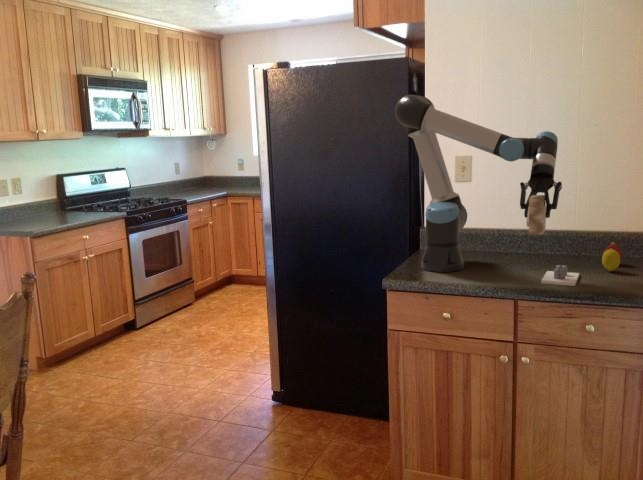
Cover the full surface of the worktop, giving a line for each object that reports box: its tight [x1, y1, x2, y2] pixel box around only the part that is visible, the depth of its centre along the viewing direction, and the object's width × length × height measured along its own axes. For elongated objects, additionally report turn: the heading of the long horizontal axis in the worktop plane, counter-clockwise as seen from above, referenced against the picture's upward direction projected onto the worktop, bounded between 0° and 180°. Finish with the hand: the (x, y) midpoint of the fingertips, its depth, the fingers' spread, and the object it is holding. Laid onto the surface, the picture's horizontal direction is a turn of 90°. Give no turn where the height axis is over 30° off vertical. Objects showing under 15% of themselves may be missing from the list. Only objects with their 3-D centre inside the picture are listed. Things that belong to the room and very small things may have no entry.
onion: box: [603, 242, 623, 259], centre depth 211 cm, size 6×6×8 cm
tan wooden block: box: [528, 194, 546, 236], centre depth 194 cm, size 4×8×12 cm, turn 152°
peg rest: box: [540, 264, 580, 287], centre depth 192 cm, size 10×14×4 cm
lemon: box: [601, 248, 621, 273], centre depth 200 cm, size 6×6×8 cm
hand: (535, 224), depth 192 cm, fingers closed on tan wooden block, 4 cm apart
